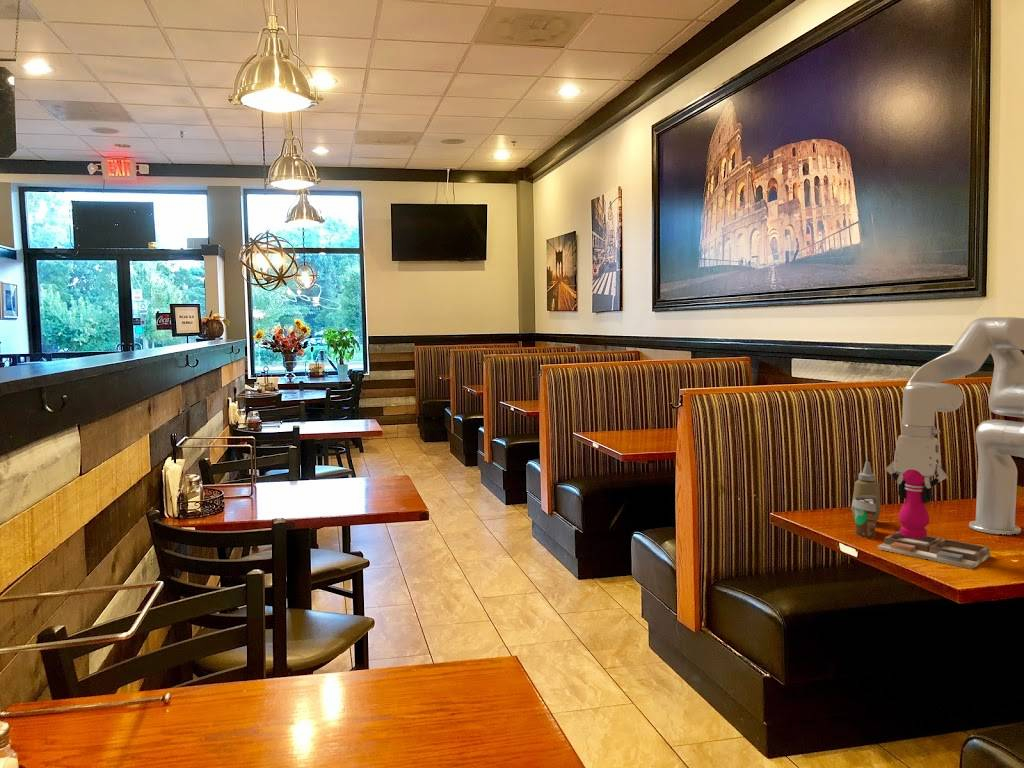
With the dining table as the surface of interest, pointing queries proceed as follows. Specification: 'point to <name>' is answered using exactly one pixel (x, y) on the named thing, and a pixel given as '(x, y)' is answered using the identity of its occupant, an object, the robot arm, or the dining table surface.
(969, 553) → the holder board
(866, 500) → the food container
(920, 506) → the pepper mill
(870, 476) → the squeeze bottle
